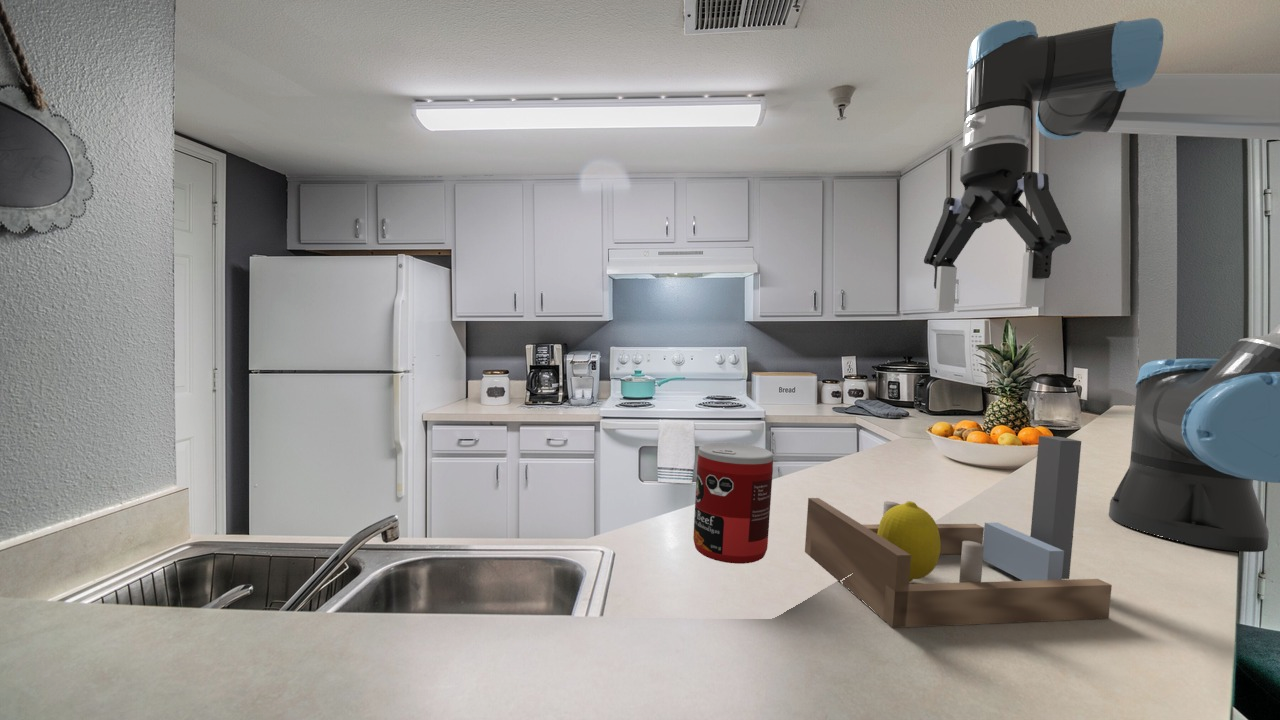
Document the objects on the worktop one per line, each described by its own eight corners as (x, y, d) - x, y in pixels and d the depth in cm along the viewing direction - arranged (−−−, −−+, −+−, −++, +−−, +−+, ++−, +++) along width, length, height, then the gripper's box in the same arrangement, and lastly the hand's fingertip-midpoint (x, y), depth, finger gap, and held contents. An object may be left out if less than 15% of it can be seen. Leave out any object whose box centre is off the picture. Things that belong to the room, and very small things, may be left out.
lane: (973, 549, 62) (977, 498, 62) (1108, 618, 47) (1114, 551, 47) (804, 551, 58) (808, 497, 58) (892, 627, 43) (897, 555, 43)
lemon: (921, 573, 54) (928, 496, 54) (947, 599, 49) (954, 513, 49) (865, 567, 55) (872, 491, 55) (885, 592, 49) (892, 507, 49)
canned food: (686, 536, 61) (691, 441, 61) (753, 537, 62) (759, 443, 62) (701, 565, 54) (707, 456, 53) (777, 565, 54) (784, 459, 54)
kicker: (1025, 558, 59) (1036, 431, 58) (1095, 591, 51) (1108, 446, 50) (981, 559, 58) (992, 430, 57) (1045, 592, 50) (1058, 445, 50)
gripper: (903, 174, 82) (895, 311, 83) (1066, 107, 58) (1052, 301, 59) (944, 179, 84) (936, 314, 85) (1118, 117, 60) (1104, 305, 61)
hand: (983, 309), depth 72 cm, fingers open, 13 cm apart
